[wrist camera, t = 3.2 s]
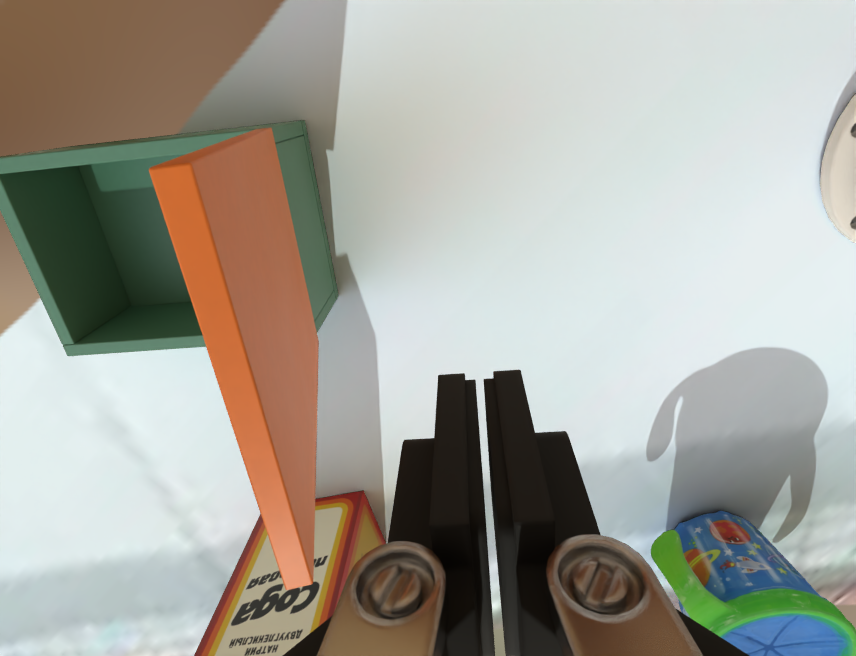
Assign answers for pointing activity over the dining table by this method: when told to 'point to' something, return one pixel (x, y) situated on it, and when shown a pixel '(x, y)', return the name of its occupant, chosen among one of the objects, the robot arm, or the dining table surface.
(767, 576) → the snack cup
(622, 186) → the dining table surface
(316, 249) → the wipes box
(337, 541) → the baking soda box
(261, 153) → the lid
